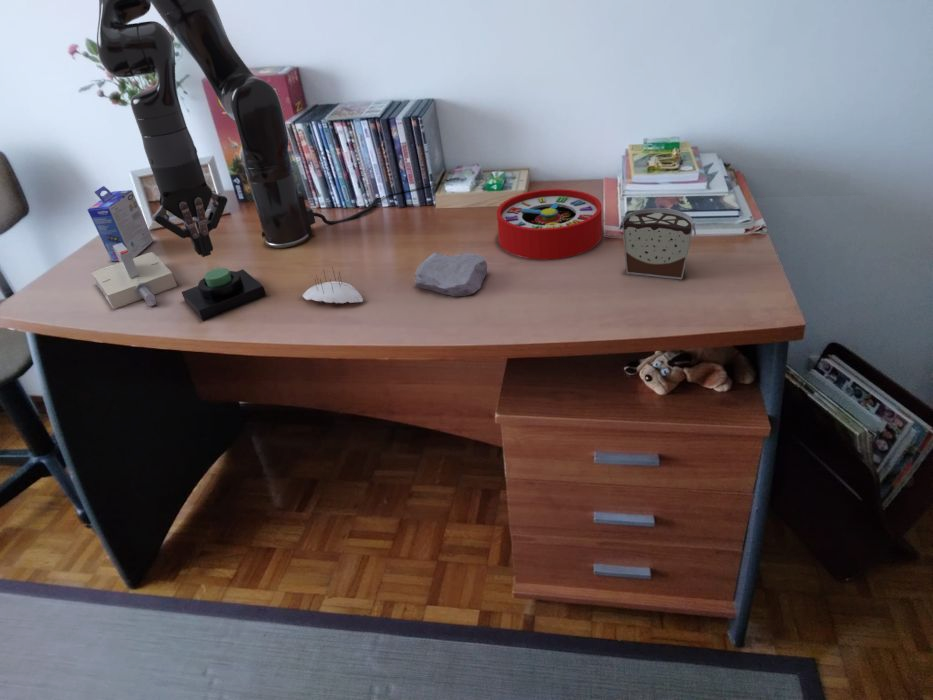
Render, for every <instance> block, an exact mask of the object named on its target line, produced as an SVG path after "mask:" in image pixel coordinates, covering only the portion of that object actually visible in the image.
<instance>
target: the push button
mask: <svg viewBox="0 0 933 700" xmlns="http://www.w3.org/2000/svg"><path fill="white" fill-rule="evenodd" d="M229 271H230V269H228V268H226V267H217V268H214V269H211V270H209V271H207V272H206V273H205V274H204V276H203V278H205V280H206V283H207V286H208V287H216V286H221V285H224V284H227V283H228V282H230V281H231V280H232V278H231V275H230V272H229Z"/></svg>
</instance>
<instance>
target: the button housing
mask: <svg viewBox="0 0 933 700" xmlns="http://www.w3.org/2000/svg"><path fill="white" fill-rule="evenodd" d="M229 272H230V275H231V278H232V280H231V281H230V282H228V283H227V284H224V285H221V286H216V287H208V286H207V283H206V280H205V278H204V277H203V278H202V279H200V280H199V282H198V284H197V285H196V286H193V287H191V288H188V289H185V290H183V291H181V295H182V298H183V300H184V302H185V304H187V306H188V307H189V308H190V309H191V310H192V312H194V313H195V314H196V316H197V317H198V318H200V320H201V321H202V322H205V321H208V320H209V319H212V318H215V317H217V316H220V315H222V314H225V313H228V312H229V311H233V310H235V309H237V308H240V307H242V306H245V305H248V304H250V303H253V302H255V301H258V300H261V299H262V298H265V297H267V293H266V290H265V288H264V285H263V284H262V283H260V281H258V280H256V279H255V278H254V277H253V276H252V275H250V274H249V272H247V271H246V270H245V269H244V268H243V269H239V270H236V271H235V270H229Z"/></svg>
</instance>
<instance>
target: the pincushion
mask: <svg viewBox="0 0 933 700" xmlns="http://www.w3.org/2000/svg"><path fill="white" fill-rule="evenodd" d="M332 269H334V267H333V266H332ZM332 272H333V273H335V271H334V270H332ZM323 274H324V278H325V282H322V280H321V279H318V278H316V280H317V281H319V280H320V283H319V282H317V281H316V280H314V281H315V284H314V285H313V286H311V287H309V288H308V289H306V291H304V293H302V295H301V296H302V298H303V299H304V300H306V301H315V302H320V304H322V302H324V303H325V304H326V305H327V304H329V303H330V304H332V303H335V305H337V304H344V303H345V304H347V302H348V303H349V304H352V303H362V302H363V301H364V299H363V297H362V296H361V294H360V293H359V291H358V290H357V288H355V286H353V285H351V284H350V283H347V282H343V281H342V278H341V274H340V272H338V275H339V276H337V279H338V280H340V281H337V279H336V278H334V280H335V281H334V280H333V281H331V279H329V280H330V281H327V277H326V275H325V269H323ZM315 276H316V277H318V275H315ZM333 276H334V277H336V275H335V274H333Z"/></svg>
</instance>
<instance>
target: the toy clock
mask: <svg viewBox="0 0 933 700" xmlns="http://www.w3.org/2000/svg"><path fill="white" fill-rule="evenodd" d="M602 211H603V207H602V202H601V201H600V200H599V198H598V197H596V196H594V195H592V194H590V193H588V192H584V191H580V190H575V189H564V188H550V189H539V190H533V191H528V192H524V193H520V194H517V195H515V196H512V197H510V198H508V199H506V200H505V201H503V202H502V203H500V205H499V206H498V207H497V210H496V221H497V233H498V243H499V245H500V247H501V248H502V249H503V250H504V251H505V252H507V253H508V254H511V255H514V256H516V257H520V258H525V259H530V260H558V259H566V258H570V257H574V256H577V255H580V254H583V253H586V252H588V251H590V250H591V249H593V248H595V247H596V246H597V245H598V244H599V243H600V242H601V239H602V234H603V233H602V232H603V231H602V229H603V228H602V227H603V224H602V223H603V219H602V217H603V212H602Z"/></svg>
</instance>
